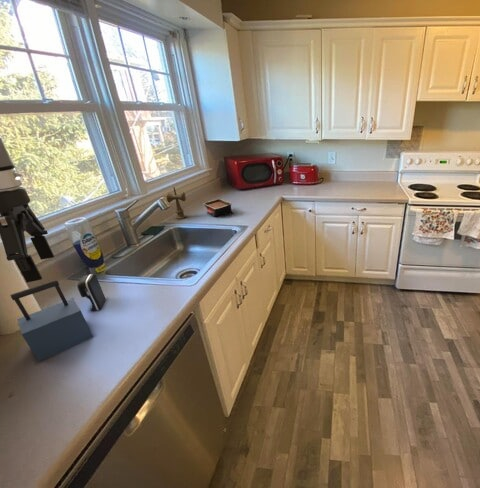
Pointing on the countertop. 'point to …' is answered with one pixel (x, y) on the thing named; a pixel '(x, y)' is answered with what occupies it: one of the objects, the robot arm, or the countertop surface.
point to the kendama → (177, 202)
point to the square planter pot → (218, 207)
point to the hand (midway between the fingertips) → (41, 268)
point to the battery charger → (92, 291)
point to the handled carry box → (51, 324)
